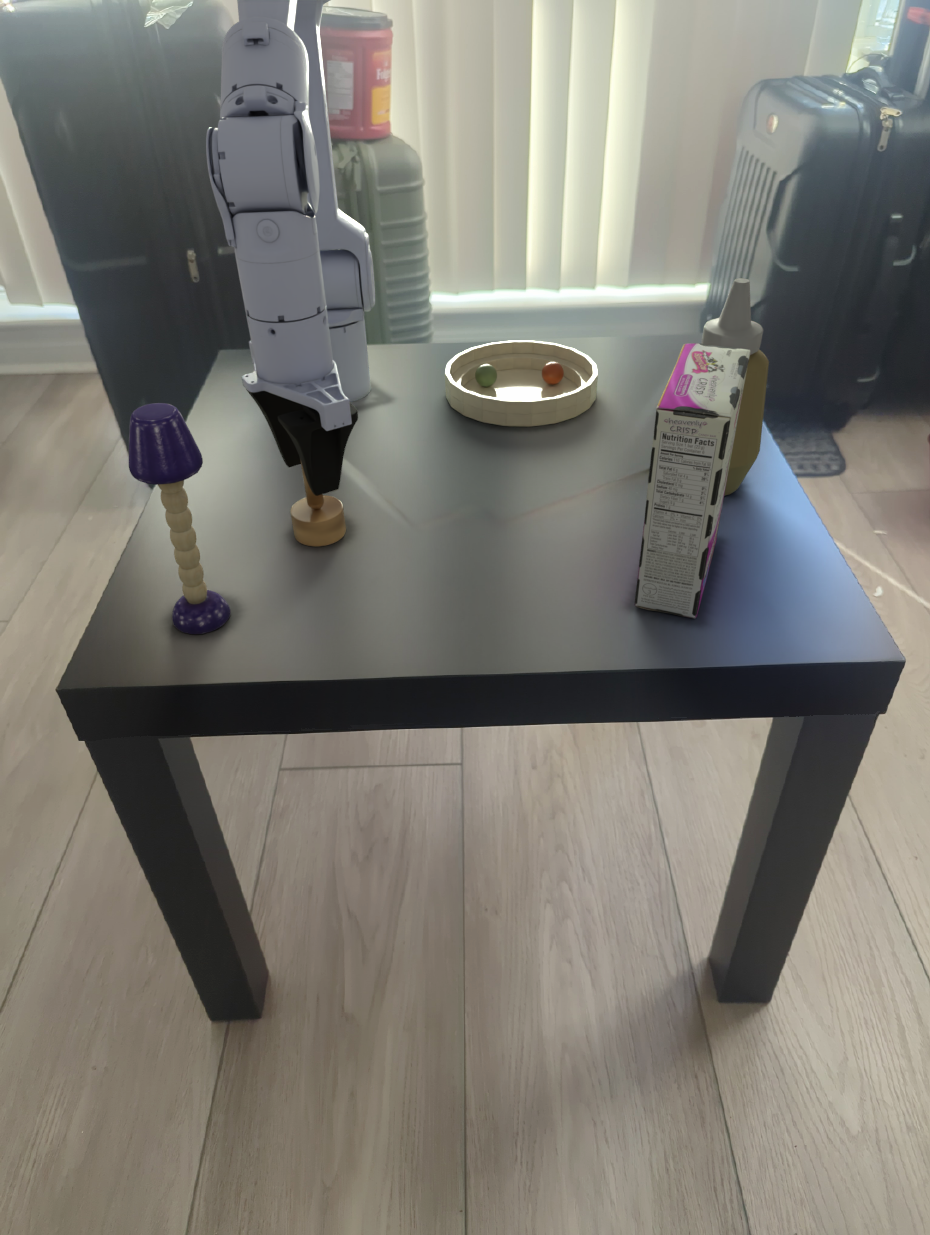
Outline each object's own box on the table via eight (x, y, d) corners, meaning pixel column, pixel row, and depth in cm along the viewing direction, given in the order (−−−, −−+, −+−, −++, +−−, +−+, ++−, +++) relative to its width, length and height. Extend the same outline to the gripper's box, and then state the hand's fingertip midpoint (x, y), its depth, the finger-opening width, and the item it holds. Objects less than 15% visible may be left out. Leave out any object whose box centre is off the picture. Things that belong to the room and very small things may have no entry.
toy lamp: (229, 591, 67) (180, 389, 56) (246, 625, 63) (197, 417, 53) (167, 610, 65) (105, 405, 54) (181, 645, 62) (117, 434, 51)
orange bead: (536, 382, 94) (537, 361, 92) (554, 377, 95) (555, 356, 93) (549, 390, 92) (550, 368, 91) (567, 384, 93) (568, 363, 92)
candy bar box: (656, 531, 72) (683, 339, 62) (716, 541, 70) (754, 347, 60) (628, 609, 64) (654, 404, 53) (696, 622, 62) (736, 414, 52)
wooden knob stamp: (286, 528, 73) (268, 430, 68) (333, 513, 75) (319, 416, 69) (306, 552, 70) (290, 452, 65) (354, 536, 72) (342, 437, 66)
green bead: (471, 384, 94) (470, 363, 92) (489, 379, 95) (489, 358, 93) (482, 392, 92) (482, 371, 91) (501, 387, 93) (501, 366, 92)
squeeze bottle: (707, 453, 82) (741, 258, 71) (771, 489, 77) (819, 284, 65) (642, 476, 79) (667, 276, 68) (704, 515, 74) (742, 305, 62)
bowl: (420, 391, 95) (418, 361, 92) (537, 359, 101) (538, 330, 99) (499, 448, 84) (499, 415, 82) (625, 408, 90) (629, 376, 88)
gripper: (199, 292, 64) (234, 454, 73) (271, 353, 54) (301, 532, 63) (286, 274, 67) (310, 432, 75) (370, 330, 57) (386, 504, 66)
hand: (311, 476), depth 69 cm, fingers open, 5 cm apart
